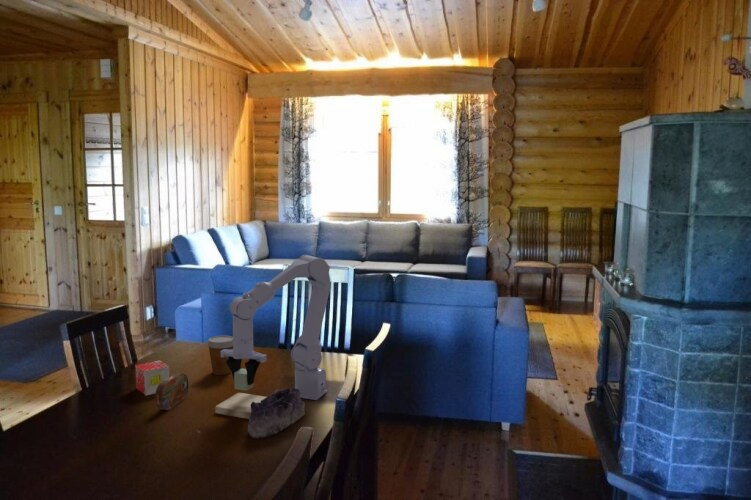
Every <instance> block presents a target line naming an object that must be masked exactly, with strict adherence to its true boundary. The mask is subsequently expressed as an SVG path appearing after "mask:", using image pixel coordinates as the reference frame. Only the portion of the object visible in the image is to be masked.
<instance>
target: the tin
mask: <svg viewBox="0 0 751 500" xmlns="http://www.w3.org/2000/svg"><path fill="white" fill-rule="evenodd" d="M188 391H189V379H188V376H187V375H186V374H185V373H174V374H172V375H170V377H169V378H167V379H166V380H164V381H163V382H161V383H160V384H159V385H158V387H157V389H156V393H154V397H155V403H156V405H155V406H156V407H157V409H159V410H164V411H170V410H172V409H173V408H174V407H176V406H177V405H178V404H180V403H181V402H183V401H184V400H185V398H186V397H187V395H188Z"/></svg>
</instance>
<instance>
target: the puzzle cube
mask: <svg viewBox="0 0 751 500" xmlns="http://www.w3.org/2000/svg"><path fill="white" fill-rule="evenodd" d="M170 374H171V373H170V365H168V364H166V363H165V362H163V361H162V360H155V361H150V362H145V363H139V364H135V386H136V387H135V388H137V390H138V391H139V392H140V391H141V392H142V393H141V392H140V393H141V394H142V395H144V396H149V395H153V394H154V395H155V393H156V389H157V387H158V385H159V384H160V383H161V382H163V381H164V380H166V379H167V378H169V377H170V376H171V375H170Z"/></svg>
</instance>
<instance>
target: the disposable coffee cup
mask: <svg viewBox="0 0 751 500" xmlns="http://www.w3.org/2000/svg"><path fill="white" fill-rule="evenodd" d="M206 344H207V346H208V349H209V350H208V351H209V357H210V363H211V364H210V365H211V369H212V374H214V375H218V376H223V375H229V374H230V373H231V370H230V368H229V367H228V365H227V364H226V361H227V360H228V357H221V351H222V350H224V349H228V350H233V335H232V336H231V335H216V336H212V337H209V338H208V341H207V343H206Z"/></svg>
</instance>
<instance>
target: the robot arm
mask: <svg viewBox="0 0 751 500" xmlns="http://www.w3.org/2000/svg"><path fill="white" fill-rule="evenodd" d="M330 269H331V267H330V265H329V264H328V262H327V261H326V260H325V259H324V258H322V257H317V256H316V257H315V256H312V255H309V254H303V255H301V256H300V257H299V258H296V259H294V260H293V261H292V263H290V265H288V266H287V267H286V268H284V269H283V270H281V272H280V273H278V274H277V275H276V276H275V277H273V278H272V279H271V280H270V281H267V282H266V281H261V282H257V283H255V286H254V287H253V288H251V289H250V290H249V291H247V292H243V293H242V296H237V297H235V298H234V299H232V301H231V303H230V306H229V307H228V310H229V312H230V314H231V315H232V337H233V350H228V349H224V350H222V351H221V357H228V360H227V361H226V364H227V365H228V367H229V368H230V370H231V372H230V373H231V375H232V378H233V380H234V372H236V371H238V370H240V369H242V368H241V367H242V361H243V360H245V361H246V362H244V366H245V367H244V368H245V369H246V371H247V382H248V385H251V384H253V383H254V381H255V376H256V373H257V370H258V369H259V366H260V364H261V363H264V364H265V362H267V361H268V358H267V357H268V356H267V354H265V353H260V352H258V351H254V322H253V317H254V316H255V315H256V313H257V310H258V309H260V308H261V307H262V306H264V305H266V304H267V303H268V302H269V301H271V300H272V299H273V298H274V297H275V294H276V291H278V290H280V289H281V288H284V286H286V285H288V284H289V283H290V282H292V281H294V280H295V279H296V278H297V279H298V278H299V279H300V278H306V279H307V280H308V282H309V283H310V285H311V286H312V289H311V294H310V299H309V303H308V307H307V311H306V315H305V320H304V324H303V328H302V333H301V335H300V336H299V337H297V339H296V341H295V344H294V346H293V347H292V348H291V352H290V357H291V360H292V361H294V388H295V389H299V391H300V392H301V394H300V399H307V400H313V401H318V400H319V399H320V398H321V397H322V396H324V395H325V394H326V393H327V392H328V390H327V373H326V372H327V371H326V370H325V369H324V368H320V367H319V366H320V365H321V363H322V359H323V357H322V344H321V341H320V334H321V330H322V326H323V322H324V317H325V312H326V309H327V304H328V300H329V299H328V298H329V295H330V291H331V288H332V281H331V276H330Z"/></svg>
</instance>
